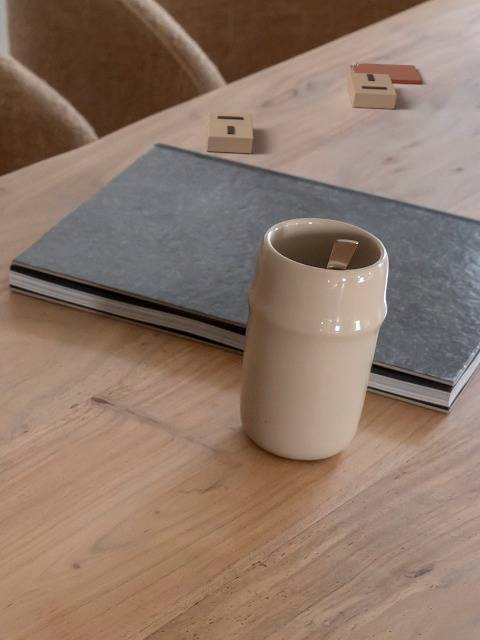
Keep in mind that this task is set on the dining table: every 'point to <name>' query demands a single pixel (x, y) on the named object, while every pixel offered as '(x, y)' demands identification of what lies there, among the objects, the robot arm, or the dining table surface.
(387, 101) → the beige block
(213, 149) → the left block
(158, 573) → the dining table surface
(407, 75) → the reddish brown square tile
